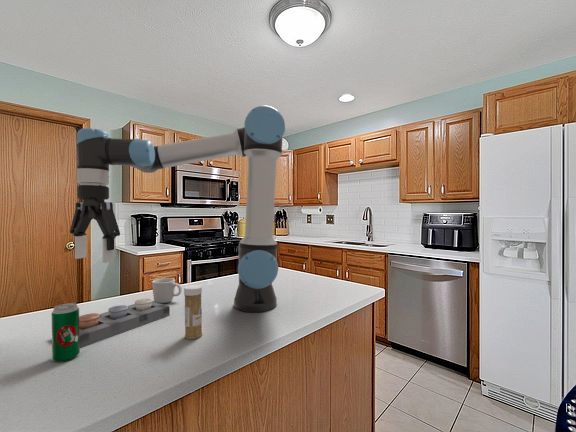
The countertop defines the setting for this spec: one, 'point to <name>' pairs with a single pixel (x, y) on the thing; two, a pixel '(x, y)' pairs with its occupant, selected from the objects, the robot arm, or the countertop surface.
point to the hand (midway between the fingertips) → (94, 260)
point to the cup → (165, 290)
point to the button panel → (122, 323)
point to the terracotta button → (88, 320)
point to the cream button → (143, 304)
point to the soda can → (65, 332)
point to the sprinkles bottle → (193, 311)
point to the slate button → (118, 311)
